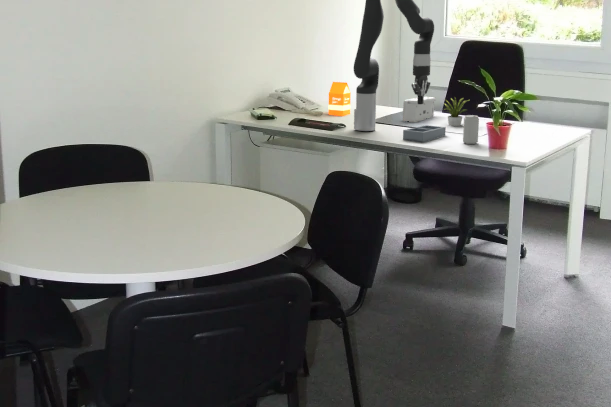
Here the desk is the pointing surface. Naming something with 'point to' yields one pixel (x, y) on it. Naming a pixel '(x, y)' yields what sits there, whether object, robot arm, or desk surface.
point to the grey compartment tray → (423, 133)
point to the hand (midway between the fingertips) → (420, 104)
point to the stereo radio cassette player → (418, 109)
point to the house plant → (455, 112)
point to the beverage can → (470, 129)
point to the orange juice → (339, 99)
